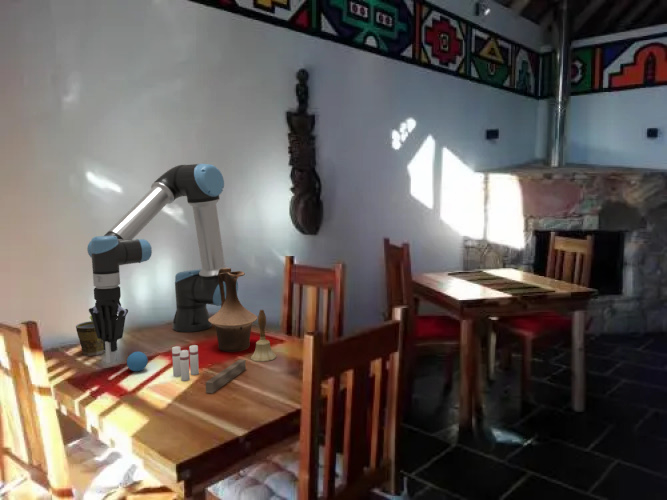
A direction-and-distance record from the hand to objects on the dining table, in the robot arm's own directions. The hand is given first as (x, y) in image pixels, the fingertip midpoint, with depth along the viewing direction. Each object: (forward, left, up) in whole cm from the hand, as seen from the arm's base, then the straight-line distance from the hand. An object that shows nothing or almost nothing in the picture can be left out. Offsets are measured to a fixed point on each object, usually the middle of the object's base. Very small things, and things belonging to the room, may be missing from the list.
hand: (111, 361), depth 166 cm
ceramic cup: (-12, -18, -3) cm, 22 cm away
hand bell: (-22, +42, -3) cm, 47 cm away
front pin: (0, +24, -2) cm, 24 cm away
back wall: (0, +40, -2) cm, 40 cm away
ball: (0, +10, +1) cm, 10 cm away
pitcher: (-30, +27, -3) cm, 40 cm away
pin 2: (-3, +28, -2) cm, 28 cm away
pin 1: (+2, +28, -2) cm, 28 cm away
